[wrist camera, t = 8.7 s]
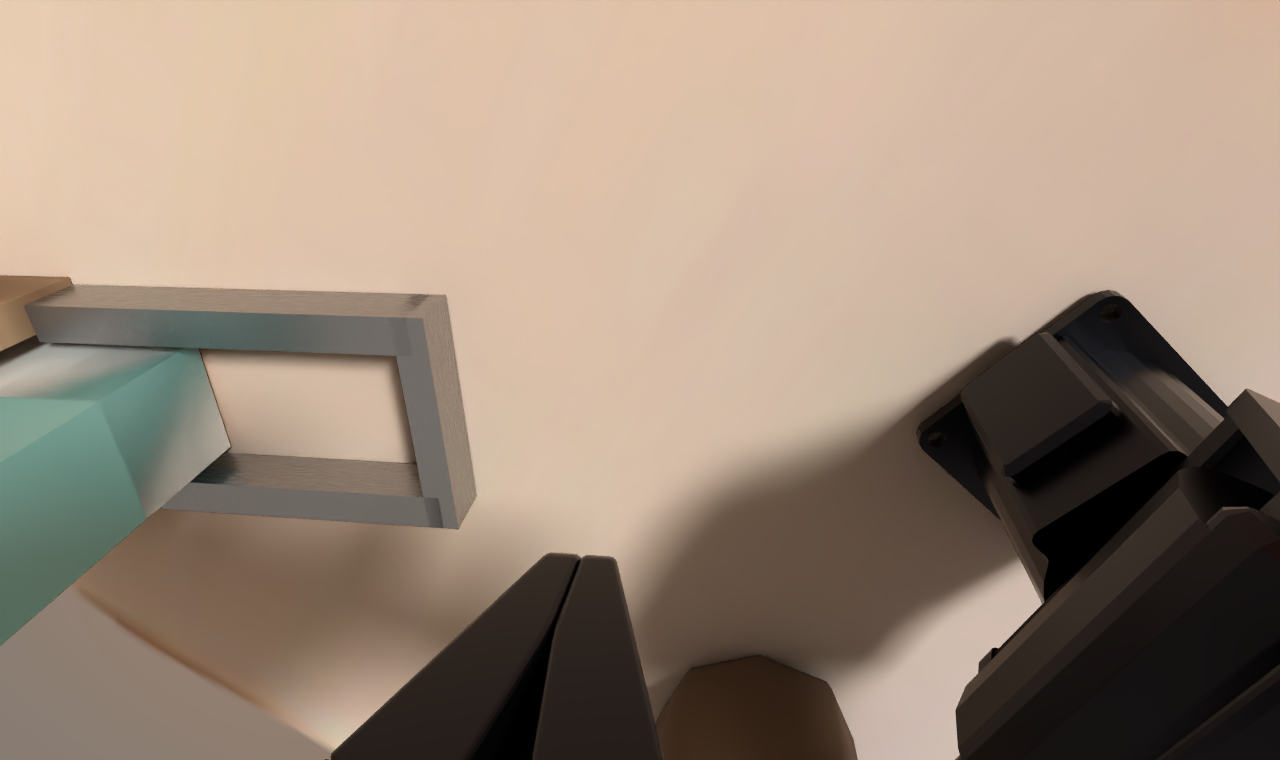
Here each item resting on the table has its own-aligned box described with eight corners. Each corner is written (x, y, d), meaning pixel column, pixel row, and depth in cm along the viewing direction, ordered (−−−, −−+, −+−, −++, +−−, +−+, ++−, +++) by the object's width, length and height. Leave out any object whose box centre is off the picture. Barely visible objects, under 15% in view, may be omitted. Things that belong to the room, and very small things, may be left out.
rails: (446, 294, 22) (422, 318, 20) (476, 495, 25) (458, 529, 24) (72, 284, 23) (23, 305, 22) (149, 475, 27) (111, 505, 25)
